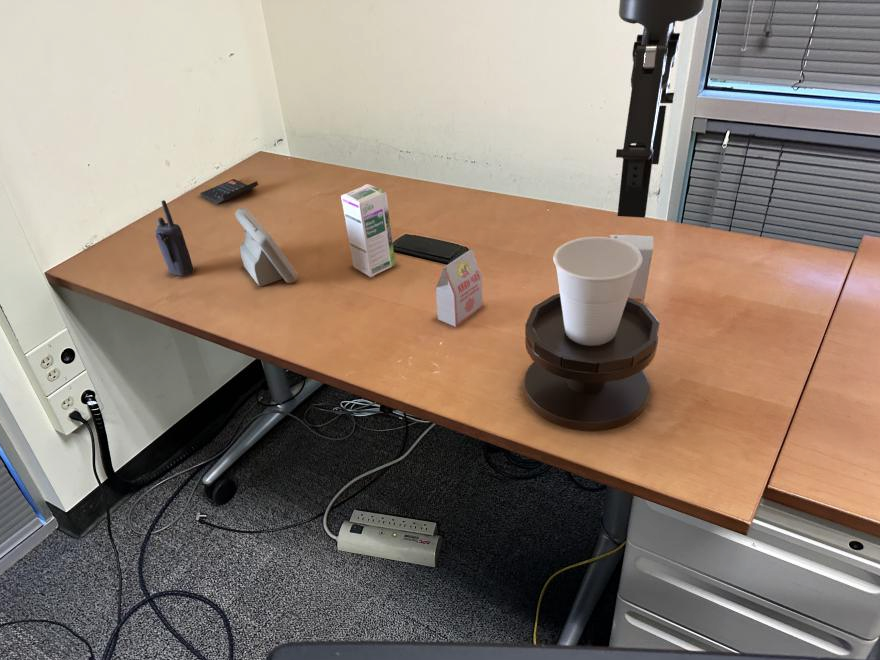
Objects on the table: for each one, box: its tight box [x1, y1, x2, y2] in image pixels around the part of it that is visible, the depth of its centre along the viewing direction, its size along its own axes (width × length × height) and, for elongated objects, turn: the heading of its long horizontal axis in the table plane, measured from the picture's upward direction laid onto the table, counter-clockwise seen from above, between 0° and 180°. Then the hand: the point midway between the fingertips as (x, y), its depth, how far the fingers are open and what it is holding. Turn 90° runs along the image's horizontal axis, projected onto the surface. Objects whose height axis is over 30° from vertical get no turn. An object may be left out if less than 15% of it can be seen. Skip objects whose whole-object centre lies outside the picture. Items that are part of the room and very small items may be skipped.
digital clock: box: [234, 207, 298, 287], centre depth 126 cm, size 16×9×11 cm, turn 14°
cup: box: [552, 236, 642, 346], centre depth 83 cm, size 10×10×11 cm
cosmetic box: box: [609, 234, 655, 305], centre depth 102 cm, size 6×4×12 cm
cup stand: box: [523, 293, 660, 432], centre depth 89 cm, size 16×16×11 cm
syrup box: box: [340, 183, 396, 278], centre depth 121 cm, size 6×6×14 cm
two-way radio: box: [154, 199, 195, 277], centre depth 128 cm, size 6×4×15 cm
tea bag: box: [435, 249, 483, 328], centre depth 107 cm, size 4×7×10 cm, turn 134°
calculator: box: [199, 178, 259, 205], centre depth 159 cm, size 9×12×3 cm
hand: (639, 187), depth 76 cm, fingers open, 13 cm apart
